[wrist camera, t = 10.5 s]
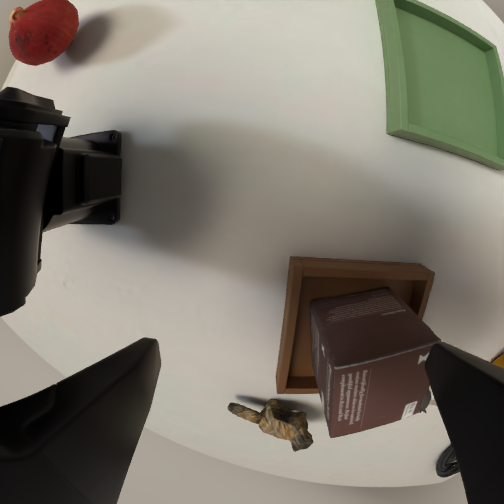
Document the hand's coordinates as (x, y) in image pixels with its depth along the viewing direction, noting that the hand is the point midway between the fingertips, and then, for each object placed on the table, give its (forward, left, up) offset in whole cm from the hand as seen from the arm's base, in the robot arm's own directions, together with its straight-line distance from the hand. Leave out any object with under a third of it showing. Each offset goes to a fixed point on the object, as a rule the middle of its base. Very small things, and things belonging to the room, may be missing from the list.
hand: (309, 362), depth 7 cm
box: (+5, -5, -10) cm, 13 cm away
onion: (-18, +17, -11) cm, 28 cm away
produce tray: (+13, +15, -11) cm, 22 cm away
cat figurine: (0, -14, -11) cm, 18 cm away
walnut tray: (+6, -5, -11) cm, 13 cm away
